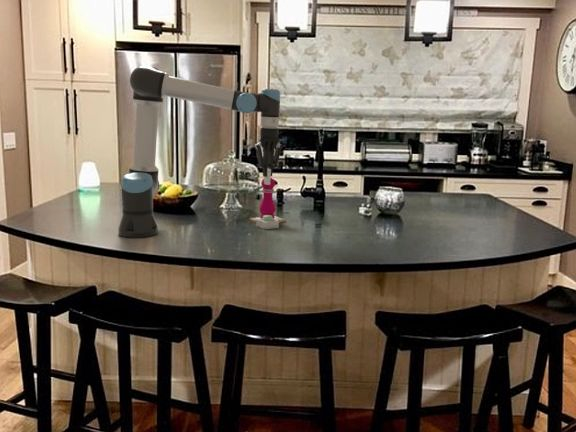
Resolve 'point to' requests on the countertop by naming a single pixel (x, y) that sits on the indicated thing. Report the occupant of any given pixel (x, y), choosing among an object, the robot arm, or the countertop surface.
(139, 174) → the robot arm
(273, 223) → the button base
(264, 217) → the button
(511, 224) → the countertop surface
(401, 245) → the countertop surface
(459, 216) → the countertop surface
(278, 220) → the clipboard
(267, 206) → the pepper mill
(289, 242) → the countertop surface
